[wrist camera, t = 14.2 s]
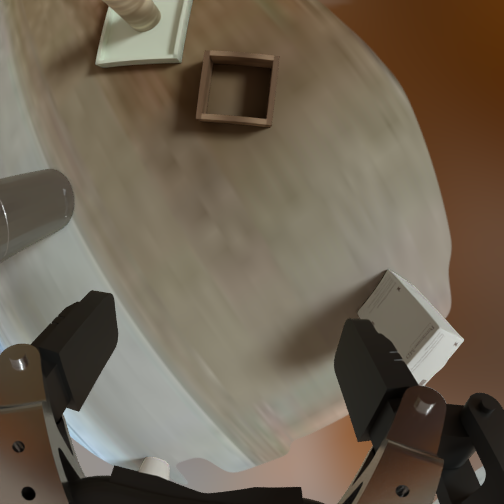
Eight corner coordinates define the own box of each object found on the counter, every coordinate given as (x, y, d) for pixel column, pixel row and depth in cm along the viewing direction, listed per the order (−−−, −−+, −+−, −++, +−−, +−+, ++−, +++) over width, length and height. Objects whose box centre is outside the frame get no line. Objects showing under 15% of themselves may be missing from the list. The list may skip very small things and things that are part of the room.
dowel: (146, 36, 28) (107, -2, 17) (125, 25, 28) (83, -11, 16) (167, 13, 27) (136, -31, 16) (145, 3, 27) (110, -40, 15)
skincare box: (387, 267, 39) (441, 321, 25) (414, 285, 40) (467, 338, 26) (354, 314, 42) (391, 382, 28) (382, 328, 43) (422, 392, 29)
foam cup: (155, 450, 54) (144, 496, 41) (183, 469, 56) (176, 512, 44) (130, 456, 55) (117, 498, 43) (157, 474, 58) (148, 514, 46)
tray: (102, 67, 30) (95, 64, 28) (121, -10, 26) (115, -16, 24) (181, 63, 31) (176, 58, 29) (196, -18, 26) (194, -26, 24)
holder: (200, 121, 33) (195, 118, 30) (208, 59, 31) (204, 50, 27) (269, 127, 34) (271, 125, 30) (277, 64, 31) (279, 56, 28)
